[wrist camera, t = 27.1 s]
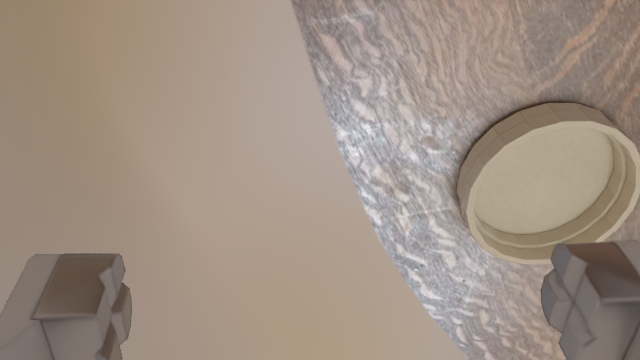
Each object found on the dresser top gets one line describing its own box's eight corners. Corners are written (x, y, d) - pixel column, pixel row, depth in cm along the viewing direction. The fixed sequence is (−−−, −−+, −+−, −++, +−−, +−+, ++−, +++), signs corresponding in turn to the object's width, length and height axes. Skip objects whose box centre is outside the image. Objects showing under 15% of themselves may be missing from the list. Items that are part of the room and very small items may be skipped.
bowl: (445, 240, 55) (454, 266, 52) (471, 100, 47) (484, 122, 44) (595, 237, 56) (612, 262, 53) (645, 99, 48) (669, 120, 45)
